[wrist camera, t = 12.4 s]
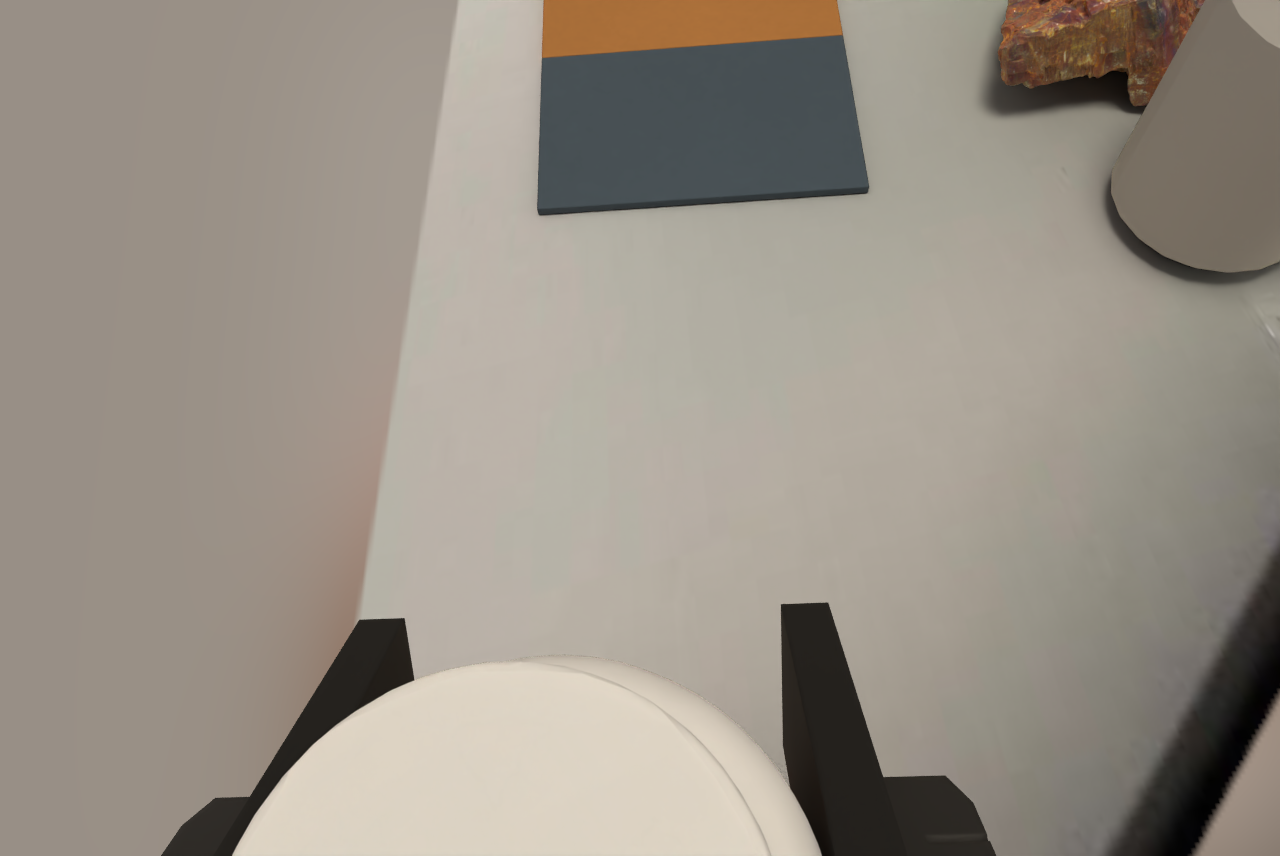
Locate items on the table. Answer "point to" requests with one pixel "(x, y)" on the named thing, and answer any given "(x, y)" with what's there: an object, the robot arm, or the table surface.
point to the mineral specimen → (1093, 40)
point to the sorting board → (694, 104)
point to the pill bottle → (533, 772)
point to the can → (1211, 145)
